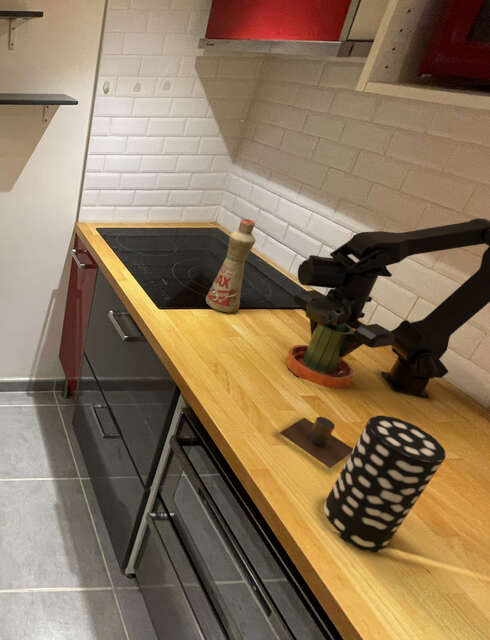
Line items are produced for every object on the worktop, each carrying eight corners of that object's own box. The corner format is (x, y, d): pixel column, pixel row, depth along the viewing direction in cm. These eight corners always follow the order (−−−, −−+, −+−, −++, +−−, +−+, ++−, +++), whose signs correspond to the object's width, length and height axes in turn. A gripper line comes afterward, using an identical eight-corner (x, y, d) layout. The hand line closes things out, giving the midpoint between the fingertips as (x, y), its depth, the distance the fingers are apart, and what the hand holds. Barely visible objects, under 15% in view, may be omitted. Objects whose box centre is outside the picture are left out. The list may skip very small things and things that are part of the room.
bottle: (245, 314, 129) (275, 225, 117) (213, 314, 129) (240, 225, 118) (229, 298, 137) (255, 214, 125) (199, 298, 137) (223, 213, 125)
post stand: (302, 420, 93) (312, 399, 91) (353, 453, 86) (365, 430, 83) (277, 436, 89) (287, 413, 87) (328, 471, 82) (340, 448, 80)
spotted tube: (399, 543, 70) (460, 454, 62) (362, 559, 68) (420, 468, 60) (344, 496, 78) (393, 410, 69) (309, 509, 75) (354, 421, 67)
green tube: (302, 352, 110) (318, 314, 105) (335, 362, 106) (352, 324, 102) (303, 366, 105) (319, 328, 100) (337, 377, 102) (356, 338, 97)
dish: (278, 351, 114) (282, 340, 112) (335, 362, 110) (340, 351, 109) (294, 383, 103) (299, 371, 102) (357, 396, 100) (363, 384, 98)
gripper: (285, 272, 104) (265, 327, 110) (367, 317, 87) (338, 379, 94) (324, 268, 106) (302, 322, 113) (411, 311, 89) (379, 372, 96)
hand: (327, 347), depth 104 cm, fingers closed on green tube, 6 cm apart
